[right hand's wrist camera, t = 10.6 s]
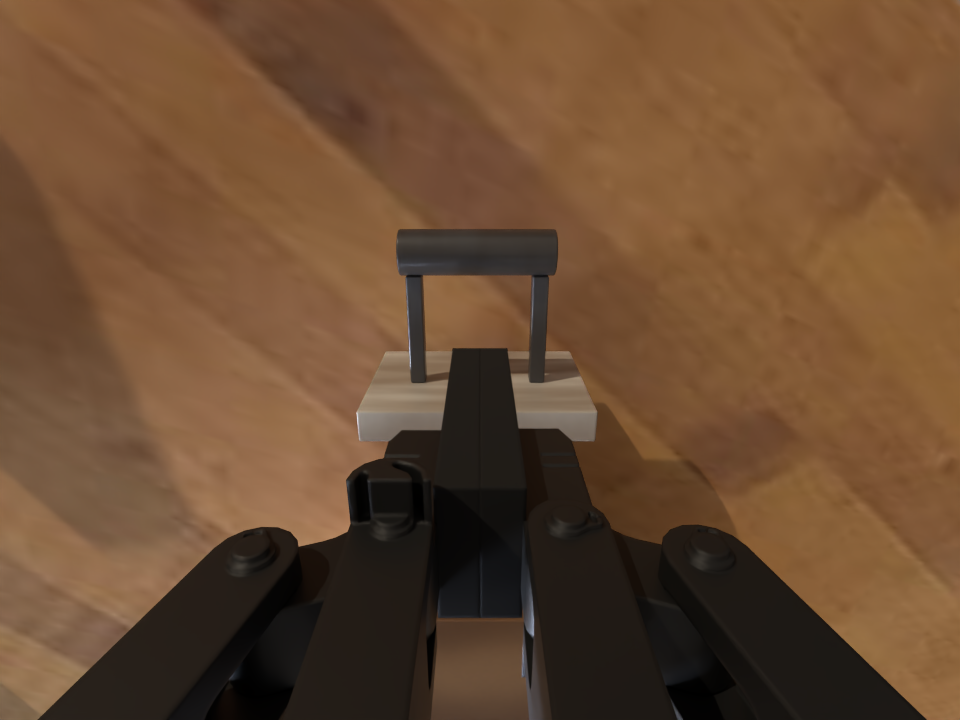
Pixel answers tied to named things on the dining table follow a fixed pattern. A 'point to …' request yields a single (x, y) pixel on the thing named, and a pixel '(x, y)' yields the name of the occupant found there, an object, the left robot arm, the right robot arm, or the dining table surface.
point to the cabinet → (479, 670)
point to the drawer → (424, 374)
